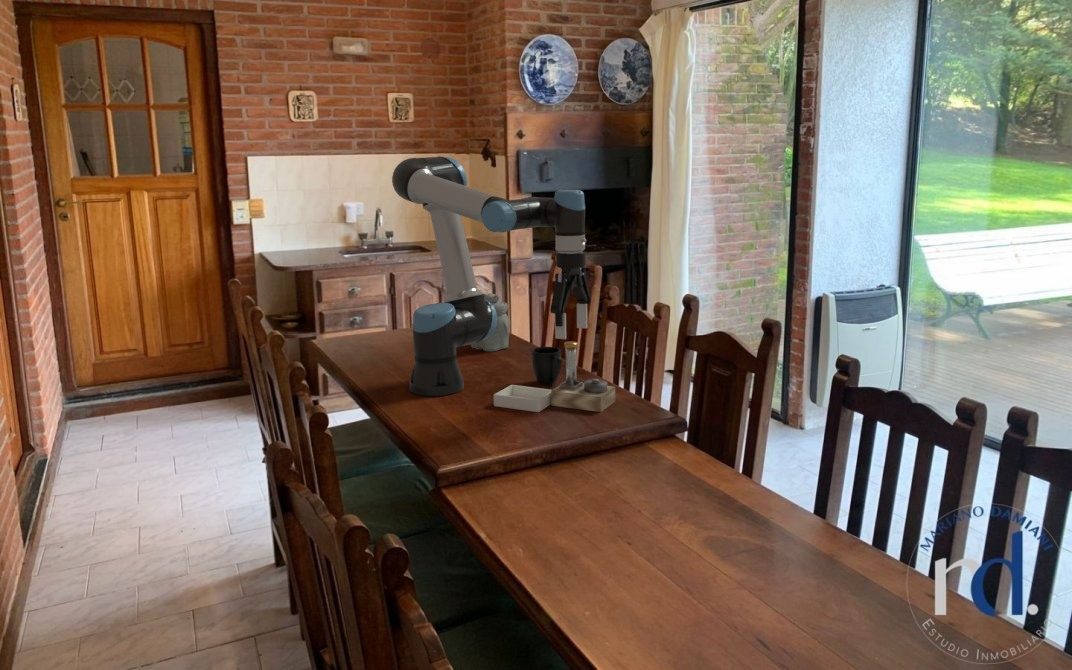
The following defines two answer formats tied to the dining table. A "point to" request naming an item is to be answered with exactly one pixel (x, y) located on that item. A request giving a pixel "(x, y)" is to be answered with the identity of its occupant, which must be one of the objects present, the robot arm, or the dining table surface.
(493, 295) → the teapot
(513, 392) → the tray
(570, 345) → the pin
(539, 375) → the mug
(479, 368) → the dining table surface
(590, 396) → the beige compartment box
